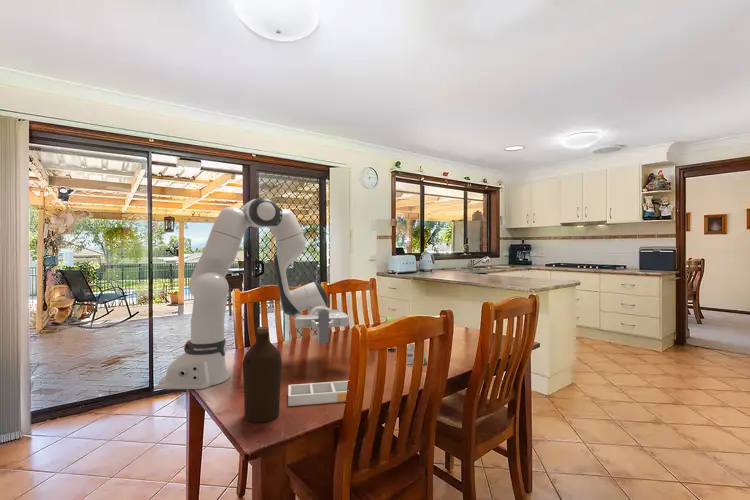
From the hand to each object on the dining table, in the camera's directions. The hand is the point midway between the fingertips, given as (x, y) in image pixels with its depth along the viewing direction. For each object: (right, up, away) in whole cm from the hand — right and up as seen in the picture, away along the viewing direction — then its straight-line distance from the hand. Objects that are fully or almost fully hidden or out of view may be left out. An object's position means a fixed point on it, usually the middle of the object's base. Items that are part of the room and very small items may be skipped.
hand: (323, 325), depth 136 cm
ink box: (+35, -20, +22) cm, 46 cm away
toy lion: (+25, -20, +45) cm, 55 cm away
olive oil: (-13, -20, -29) cm, 38 cm away
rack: (+2, -20, -15) cm, 25 cm away
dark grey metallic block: (0, -6, +1) cm, 6 cm away
